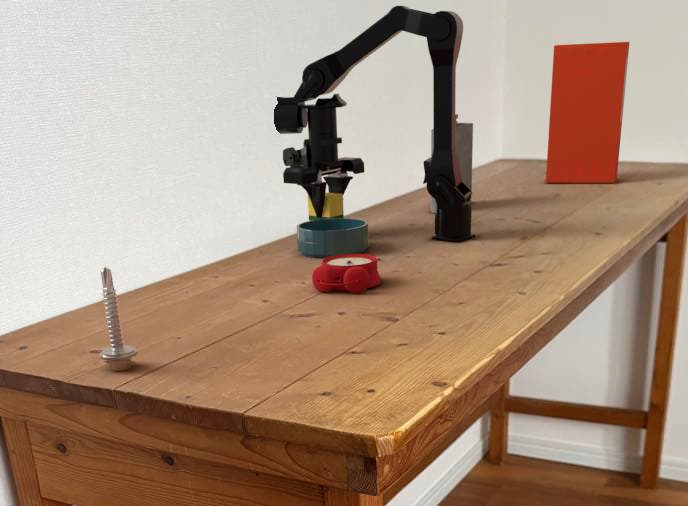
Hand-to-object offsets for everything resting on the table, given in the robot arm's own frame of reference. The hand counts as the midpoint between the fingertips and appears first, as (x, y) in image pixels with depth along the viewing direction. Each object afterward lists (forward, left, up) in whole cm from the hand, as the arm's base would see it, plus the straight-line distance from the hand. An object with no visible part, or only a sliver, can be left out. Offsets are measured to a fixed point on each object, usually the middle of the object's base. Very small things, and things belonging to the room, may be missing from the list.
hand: (326, 215), depth 193 cm
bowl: (-10, +10, -4) cm, 15 cm away
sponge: (0, 0, -1) cm, 1 cm away
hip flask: (-2, -41, -5) cm, 41 cm away
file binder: (-10, -89, -5) cm, 90 cm away
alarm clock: (-32, +31, -5) cm, 45 cm away
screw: (-35, +80, -5) cm, 87 cm away
